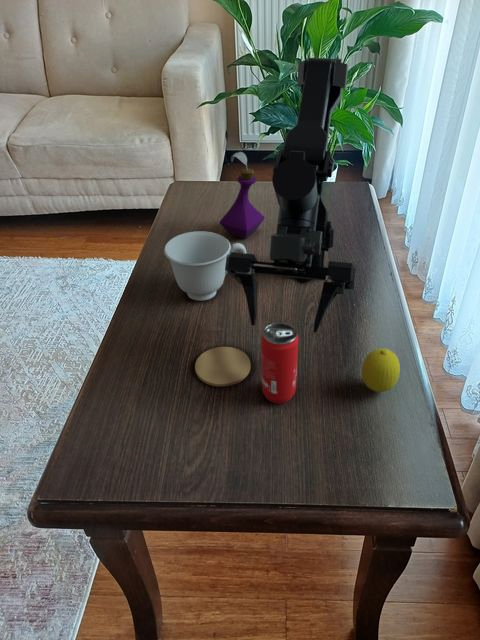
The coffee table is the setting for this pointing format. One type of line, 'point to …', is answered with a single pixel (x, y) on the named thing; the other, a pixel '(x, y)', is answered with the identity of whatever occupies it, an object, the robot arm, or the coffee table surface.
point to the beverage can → (279, 362)
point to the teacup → (200, 262)
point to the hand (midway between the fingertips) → (283, 328)
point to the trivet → (222, 366)
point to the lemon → (381, 370)
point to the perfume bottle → (242, 206)
